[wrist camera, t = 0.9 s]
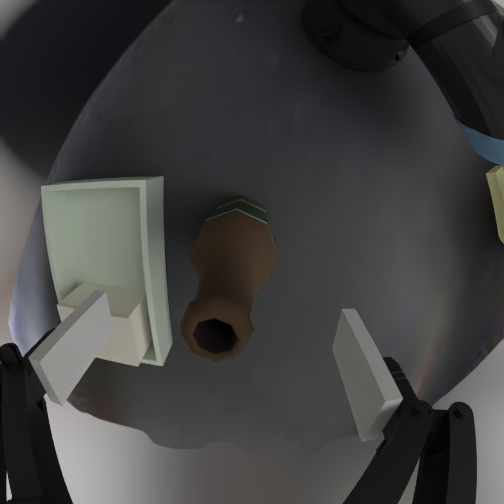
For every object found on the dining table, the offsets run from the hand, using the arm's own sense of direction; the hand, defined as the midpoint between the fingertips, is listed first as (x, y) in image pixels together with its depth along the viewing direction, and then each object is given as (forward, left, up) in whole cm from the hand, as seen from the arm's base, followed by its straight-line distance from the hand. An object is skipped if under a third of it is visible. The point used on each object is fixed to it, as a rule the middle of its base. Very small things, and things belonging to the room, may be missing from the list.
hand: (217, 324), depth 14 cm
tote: (+19, +7, -23) cm, 30 cm away
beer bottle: (0, 0, -23) cm, 23 cm away
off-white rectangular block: (+19, +14, -22) cm, 32 cm away
